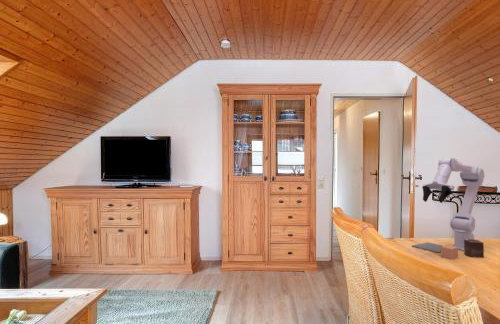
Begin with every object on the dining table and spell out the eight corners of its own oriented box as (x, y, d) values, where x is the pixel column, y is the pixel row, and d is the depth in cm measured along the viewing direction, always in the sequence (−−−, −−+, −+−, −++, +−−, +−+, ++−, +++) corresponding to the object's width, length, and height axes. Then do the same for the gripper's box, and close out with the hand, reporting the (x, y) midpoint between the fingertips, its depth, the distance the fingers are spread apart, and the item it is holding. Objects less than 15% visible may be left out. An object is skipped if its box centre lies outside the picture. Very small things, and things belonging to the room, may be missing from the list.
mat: (427, 243, 177) (427, 242, 177) (453, 249, 164) (453, 248, 164) (411, 246, 170) (411, 245, 170) (437, 253, 158) (437, 251, 158)
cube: (447, 255, 154) (447, 245, 154) (458, 258, 150) (458, 247, 150) (441, 256, 152) (441, 246, 152) (451, 259, 147) (451, 249, 147)
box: (484, 258, 150) (483, 242, 150) (469, 257, 151) (469, 241, 151) (477, 254, 155) (477, 239, 156) (463, 253, 157) (463, 238, 157)
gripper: (423, 173, 161) (413, 195, 157) (452, 173, 148) (443, 197, 144) (430, 182, 164) (421, 203, 159) (459, 182, 151) (450, 205, 146)
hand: (432, 201), depth 152 cm, fingers open, 7 cm apart
